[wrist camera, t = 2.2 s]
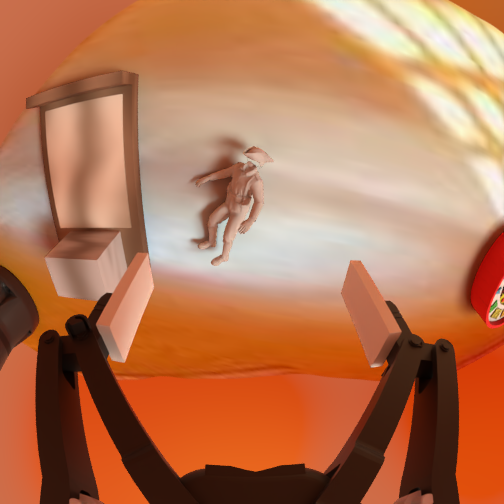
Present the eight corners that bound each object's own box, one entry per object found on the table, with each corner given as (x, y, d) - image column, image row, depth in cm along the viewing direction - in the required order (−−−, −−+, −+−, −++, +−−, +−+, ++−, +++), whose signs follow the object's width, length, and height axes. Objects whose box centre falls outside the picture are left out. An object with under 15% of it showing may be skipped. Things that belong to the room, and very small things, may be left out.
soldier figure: (182, 229, 30) (198, 132, 22) (217, 216, 33) (241, 128, 24) (222, 279, 27) (255, 181, 19) (257, 261, 30) (299, 171, 22)
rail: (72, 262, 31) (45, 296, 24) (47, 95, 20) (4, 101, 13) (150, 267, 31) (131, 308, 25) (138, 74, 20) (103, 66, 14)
